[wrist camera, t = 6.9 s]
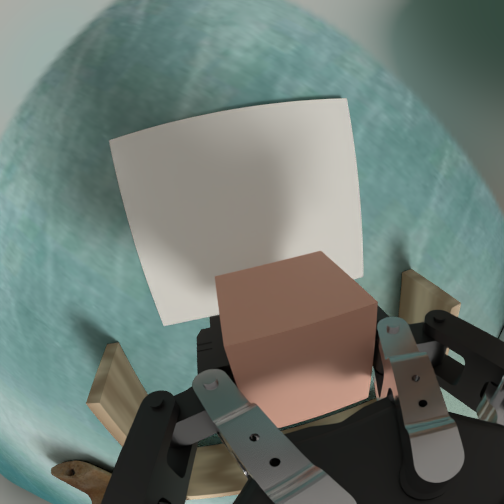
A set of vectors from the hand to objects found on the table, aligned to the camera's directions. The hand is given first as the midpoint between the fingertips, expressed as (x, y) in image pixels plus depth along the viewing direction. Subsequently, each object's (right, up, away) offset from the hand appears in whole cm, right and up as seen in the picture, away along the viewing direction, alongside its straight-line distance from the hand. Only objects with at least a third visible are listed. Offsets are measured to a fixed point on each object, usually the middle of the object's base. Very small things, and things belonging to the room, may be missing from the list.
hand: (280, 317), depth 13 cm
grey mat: (-1, +5, +4) cm, 7 cm away
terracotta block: (0, 0, +1) cm, 1 cm away
